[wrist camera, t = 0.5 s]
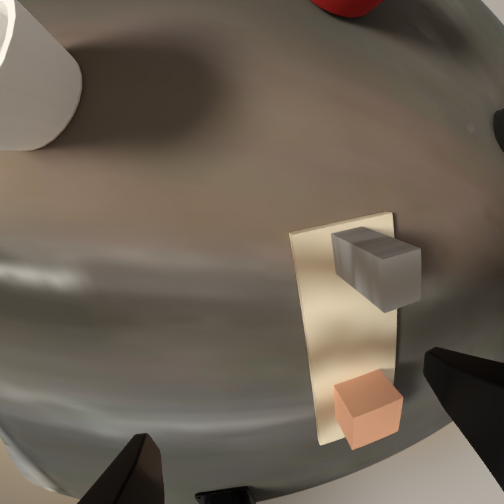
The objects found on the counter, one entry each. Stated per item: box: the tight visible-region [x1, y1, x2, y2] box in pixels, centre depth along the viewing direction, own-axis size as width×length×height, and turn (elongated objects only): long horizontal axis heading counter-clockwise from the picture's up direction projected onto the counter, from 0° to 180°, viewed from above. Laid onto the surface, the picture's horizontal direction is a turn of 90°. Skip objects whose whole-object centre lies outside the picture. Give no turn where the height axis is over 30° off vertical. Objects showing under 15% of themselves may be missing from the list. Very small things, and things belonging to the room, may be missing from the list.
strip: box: [289, 212, 421, 445], centre depth 21 cm, size 22×8×8 cm, turn 11°
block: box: [334, 369, 403, 450], centre depth 23 cm, size 4×4×4 cm
